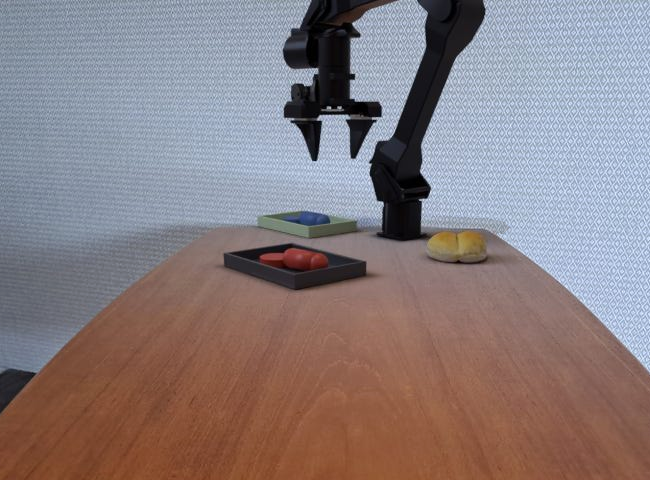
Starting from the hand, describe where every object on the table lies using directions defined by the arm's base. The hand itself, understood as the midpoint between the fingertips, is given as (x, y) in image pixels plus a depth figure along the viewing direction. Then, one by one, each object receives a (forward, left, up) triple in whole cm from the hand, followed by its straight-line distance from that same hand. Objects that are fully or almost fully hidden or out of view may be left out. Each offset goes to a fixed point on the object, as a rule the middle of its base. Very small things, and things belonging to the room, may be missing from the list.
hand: (334, 160), depth 124 cm
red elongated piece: (-25, +28, -12) cm, 40 cm away
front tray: (-25, +28, -12) cm, 39 cm away
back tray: (+1, +6, -12) cm, 13 cm away
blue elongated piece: (+1, +6, -12) cm, 13 cm away
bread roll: (-34, +4, -12) cm, 36 cm away
